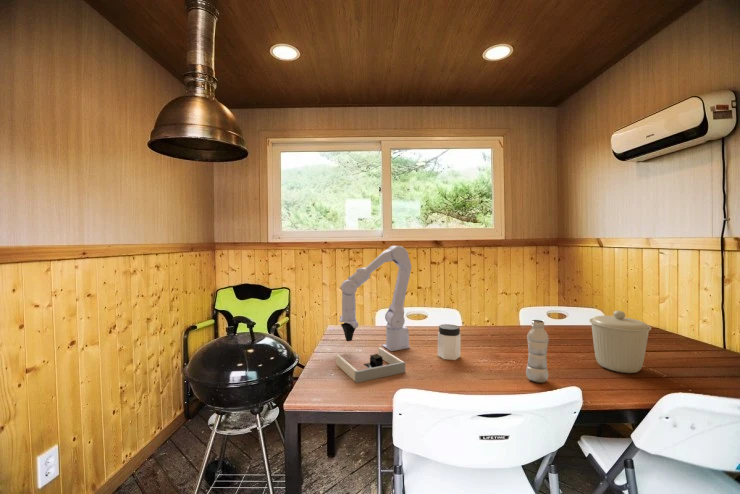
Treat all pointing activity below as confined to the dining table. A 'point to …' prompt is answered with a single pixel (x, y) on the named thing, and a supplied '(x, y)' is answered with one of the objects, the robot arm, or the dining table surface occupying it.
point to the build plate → (375, 361)
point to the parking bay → (376, 372)
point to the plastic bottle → (537, 352)
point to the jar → (449, 342)
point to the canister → (619, 342)
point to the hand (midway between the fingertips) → (348, 340)
